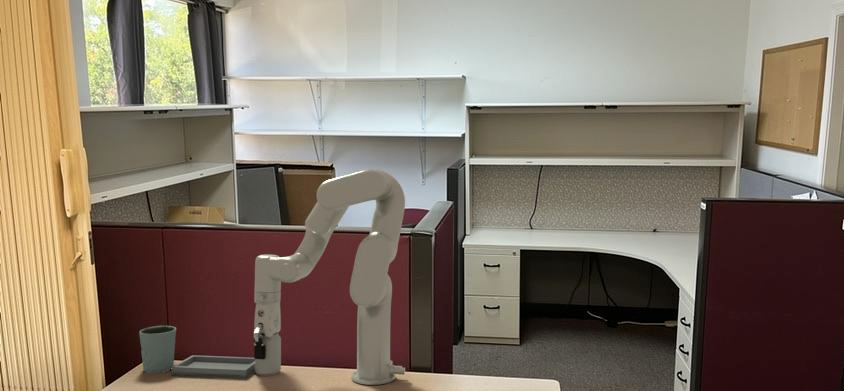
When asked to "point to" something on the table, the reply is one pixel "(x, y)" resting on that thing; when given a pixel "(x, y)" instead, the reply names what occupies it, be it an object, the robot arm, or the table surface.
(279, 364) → the can
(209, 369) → the tray
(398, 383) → the table surface
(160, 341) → the green cup
